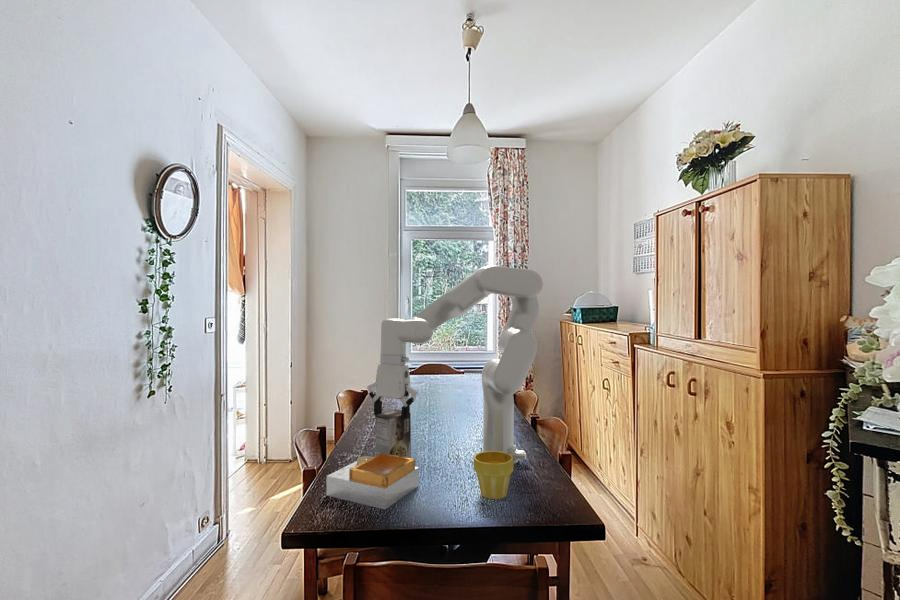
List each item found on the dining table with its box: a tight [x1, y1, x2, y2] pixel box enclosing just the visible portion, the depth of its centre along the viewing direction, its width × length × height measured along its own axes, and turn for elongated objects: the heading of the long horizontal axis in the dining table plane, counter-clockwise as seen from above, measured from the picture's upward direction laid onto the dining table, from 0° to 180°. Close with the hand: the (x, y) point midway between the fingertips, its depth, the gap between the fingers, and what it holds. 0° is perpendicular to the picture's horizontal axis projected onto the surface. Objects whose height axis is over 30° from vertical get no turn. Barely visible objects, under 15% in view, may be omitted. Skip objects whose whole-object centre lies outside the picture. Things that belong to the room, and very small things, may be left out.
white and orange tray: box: [326, 453, 420, 510], centre depth 125 cm, size 18×16×8 cm
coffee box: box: [375, 408, 412, 458], centre depth 142 cm, size 9×6×16 cm
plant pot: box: [473, 451, 515, 500], centre depth 123 cm, size 10×10×10 cm
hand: (391, 416), depth 142 cm, fingers open, 9 cm apart
